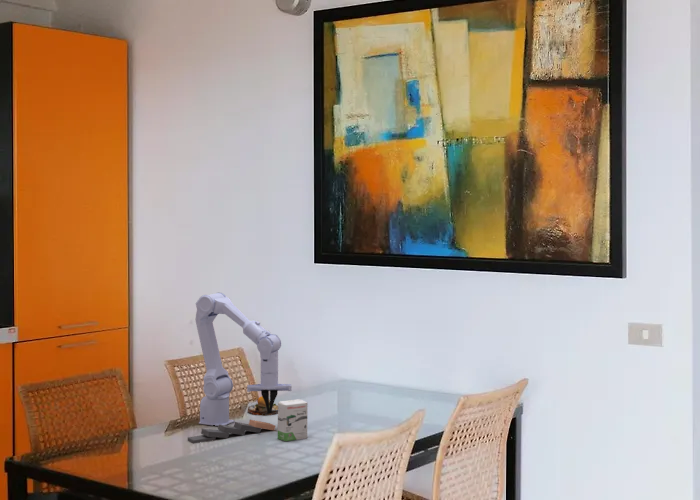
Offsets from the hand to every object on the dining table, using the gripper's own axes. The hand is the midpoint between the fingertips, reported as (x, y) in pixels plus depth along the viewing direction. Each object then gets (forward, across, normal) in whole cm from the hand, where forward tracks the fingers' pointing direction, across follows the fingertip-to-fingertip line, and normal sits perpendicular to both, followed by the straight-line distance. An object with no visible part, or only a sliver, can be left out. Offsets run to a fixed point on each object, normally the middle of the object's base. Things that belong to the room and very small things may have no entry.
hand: (269, 412), depth 310 cm
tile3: (+5, +9, +5) cm, 11 cm away
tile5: (+5, +18, +10) cm, 21 cm away
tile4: (+5, +14, +8) cm, 17 cm away
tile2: (+5, +4, +2) cm, 7 cm away
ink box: (+6, -7, +12) cm, 15 cm away
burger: (+6, +2, -26) cm, 27 cm away
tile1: (+5, -1, -1) cm, 5 cm away
